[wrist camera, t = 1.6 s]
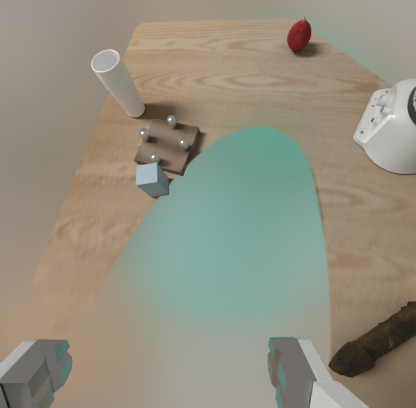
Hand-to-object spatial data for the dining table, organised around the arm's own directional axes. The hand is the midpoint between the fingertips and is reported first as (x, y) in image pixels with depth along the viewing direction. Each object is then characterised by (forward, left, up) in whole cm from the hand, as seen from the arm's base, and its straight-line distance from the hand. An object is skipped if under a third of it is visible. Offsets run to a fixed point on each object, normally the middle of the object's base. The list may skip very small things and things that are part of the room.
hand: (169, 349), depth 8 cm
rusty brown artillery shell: (0, +29, -36) cm, 46 cm away
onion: (-66, +1, -36) cm, 75 cm away
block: (-16, -21, -35) cm, 44 cm away
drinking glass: (-36, -37, -36) cm, 62 cm away
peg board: (-27, -23, -35) cm, 50 cm away
